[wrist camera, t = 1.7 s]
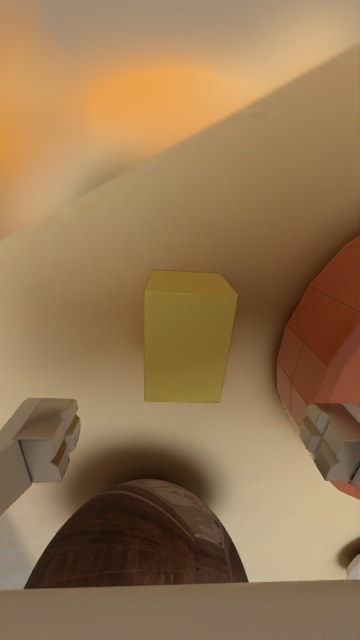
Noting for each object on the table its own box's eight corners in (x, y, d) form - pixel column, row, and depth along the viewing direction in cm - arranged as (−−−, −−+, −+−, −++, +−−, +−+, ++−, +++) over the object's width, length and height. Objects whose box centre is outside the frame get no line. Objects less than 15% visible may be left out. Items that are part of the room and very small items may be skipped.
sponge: (151, 269, 13) (144, 291, 10) (220, 273, 14) (238, 295, 10) (150, 358, 16) (143, 402, 12) (208, 360, 16) (220, 403, 12)
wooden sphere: (258, 462, 21) (425, 939, 7) (187, 545, 26) (205, 903, 13) (91, 415, 18) (-170, 1078, 4) (50, 519, 23) (-120, 951, 10)
